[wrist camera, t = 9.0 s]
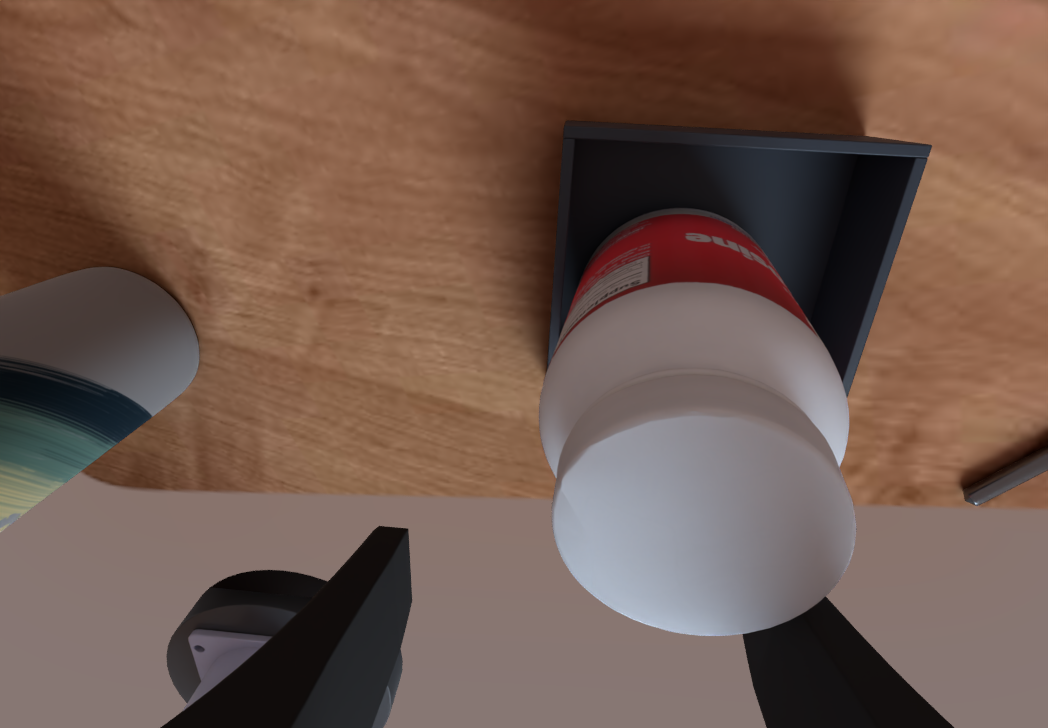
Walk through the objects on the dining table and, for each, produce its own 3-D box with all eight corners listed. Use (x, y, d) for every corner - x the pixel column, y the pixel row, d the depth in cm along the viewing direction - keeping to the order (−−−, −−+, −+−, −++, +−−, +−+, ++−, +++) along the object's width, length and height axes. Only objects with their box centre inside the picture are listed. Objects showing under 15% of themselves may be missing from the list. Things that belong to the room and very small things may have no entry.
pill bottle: (810, 315, 18) (998, 594, 8) (651, 409, 21) (652, 704, 11) (697, 158, 17) (763, 275, 7) (542, 281, 19) (432, 489, 10)
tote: (791, 399, 21) (829, 452, 18) (547, 380, 21) (542, 428, 18) (867, 135, 17) (932, 144, 14) (565, 120, 17) (564, 125, 14)
